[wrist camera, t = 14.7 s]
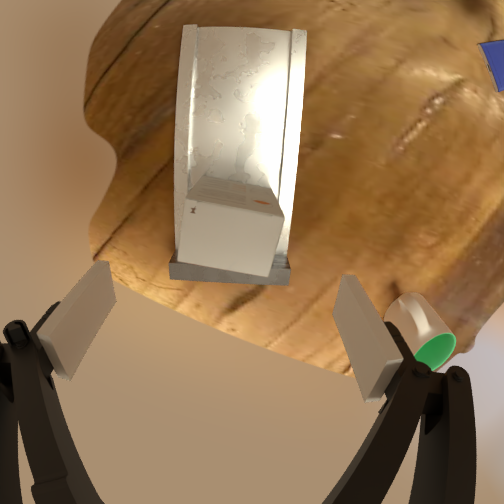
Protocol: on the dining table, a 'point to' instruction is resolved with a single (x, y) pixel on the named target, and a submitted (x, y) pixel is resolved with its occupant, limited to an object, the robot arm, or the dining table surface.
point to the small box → (230, 226)
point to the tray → (238, 125)
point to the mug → (421, 329)
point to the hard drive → (494, 62)
